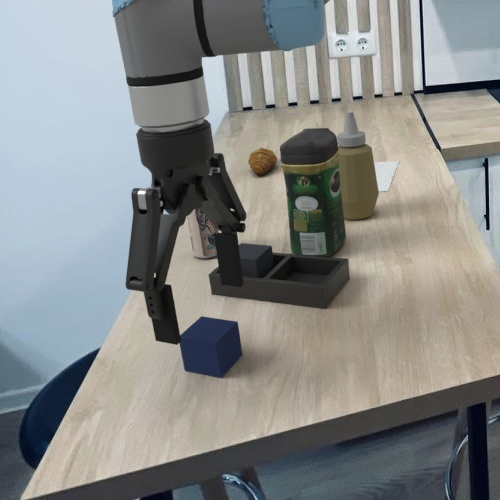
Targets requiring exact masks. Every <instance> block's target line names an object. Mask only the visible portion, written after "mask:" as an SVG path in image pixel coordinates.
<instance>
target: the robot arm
mask: <svg viewBox="0 0 500 500" xmlns="http://www.w3.org/2000/svg"><path fill="white" fill-rule="evenodd" d="M330 1H331V0H111V5H112V11H111V13H112V18H113V19H114V23H115V28H116V29H115V30H116V33H117V38H118V43H119V48H120V54H121V58H122V64H123V69H124V73H125V79H126V84H127V89H128V94H129V99H130V104H131V111H132V116H133V122H134V125H136V126H138V127H139V129H138V130H137V131H136V134H135V136H136V142H137V147H138V153H139V158H140V162H141V165H142V166H143V167H144V168H146V169H147V170H148V171H149V172H150V174H151V185H150V186H149V187H146V188H145V187H134V188H132V190H131V193H130V195H131V196H130V197H131V204H132V221H131V230H130V239H129V248H128V258H127V266H126V275H125V288H126V289H127V290H129V291H135V292H141V293H143V297H144V301H145V305H146V312H147V315H148V317H149V318H150V319H151V323H152V329H153V334H154V339H155V342H160V343H165V344H170V345H176V346H177V345H180V344H179V343H180V342H181V338H180V335H181V333H180V327H179V322H178V315H177V310H176V304H175V297H174V294H173V287H172V284H168V283H166V281H167V279H168V275H169V270H170V266H171V262H172V258H173V254H174V250H175V246H176V242H177V239H178V234H179V230H180V228H181V227H182V226H183V225H184V224H185V223H186V221H187V220H186V219H187V216H188V215H189V214H191V213H192V211H193V210H194V209H200V210H201V212H202V213H203V214H204V215H205V216H206V217H207V218H208V219H209V220H210V221H211V223H212V224H213V225H214V226H215V227H216V228H217V229H218V231H219V233H216V234H214V239H215V246H216V253H217V255H216V259H217V267H218V266H219V273H220V280H221V285H227V286H235V287H241V286H243V285H244V284H243V276H242V268H241V261H240V253H239V245H240V244H239V243H240V242H239V236H238V233H239V234H240V233H242V234H243V233H245V232H246V222H245V221H246V220H247V212H246V210H245V208H244V205H243V203H242V201H241V199H240V197H239V195H238V192H237V191H236V188H235V186H234V184H233V182H232V180H231V178H230V175H229V172H228V171H227V167H226V162H225V156H224V154H223V153H222V152H215V145H214V139H213V132H212V124H211V123H210V121H208V120H207V119H206V118H207V117H208V116H209V114H210V106H209V100H208V93H207V88H206V81H205V75H204V68H203V67H204V66H203V58H216V57H219V56H230V55H241V54H253V53H264V52H275V51H277V52H278V51H284V52H291V51H293V50H296V49H300V48H306V47H314V46H317V45H319V44H320V43H321V42H322V41H323V39H324V37H325V33H326V32H325V31H326V30H325V29H326V27H325V26H326V18H325V5H326V4H328V3H329V2H330ZM164 211H165V212H166V213H164Z"/></svg>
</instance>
